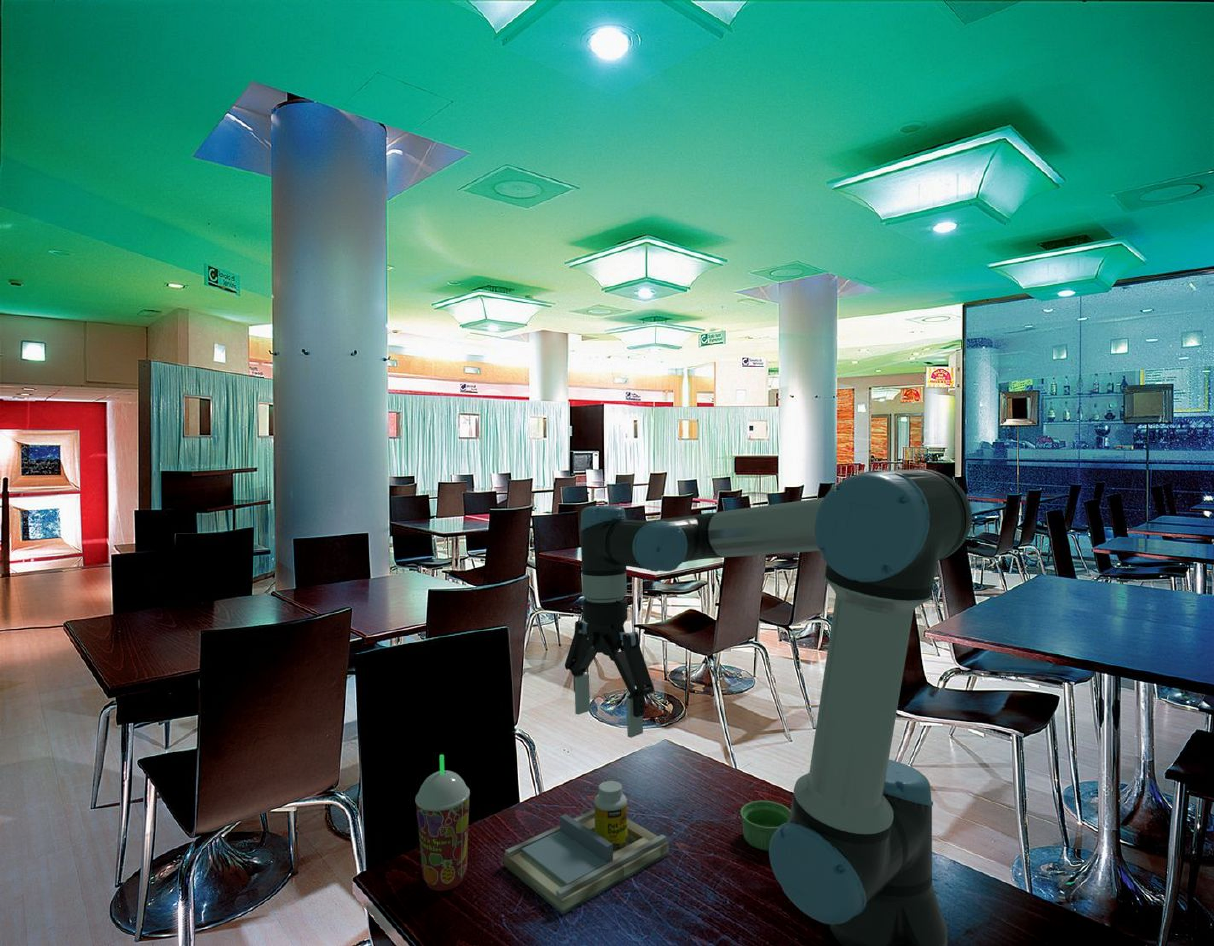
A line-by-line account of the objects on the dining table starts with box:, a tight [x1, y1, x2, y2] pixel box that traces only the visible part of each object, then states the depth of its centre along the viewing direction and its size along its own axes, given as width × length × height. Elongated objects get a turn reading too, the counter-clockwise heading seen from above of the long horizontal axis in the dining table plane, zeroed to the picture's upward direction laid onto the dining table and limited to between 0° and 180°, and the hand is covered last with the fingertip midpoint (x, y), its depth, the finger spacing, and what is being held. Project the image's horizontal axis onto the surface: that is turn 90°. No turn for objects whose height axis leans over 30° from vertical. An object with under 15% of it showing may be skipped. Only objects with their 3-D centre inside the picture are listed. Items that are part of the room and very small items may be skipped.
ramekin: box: [739, 800, 791, 852], centre depth 118 cm, size 9×9×4 cm
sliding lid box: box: [503, 809, 670, 915], centre depth 113 cm, size 22×16×3 cm
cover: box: [522, 813, 613, 886], centre depth 110 cm, size 9×12×3 cm
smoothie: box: [414, 754, 471, 892], centre depth 108 cm, size 8×8×20 cm
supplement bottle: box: [593, 780, 628, 853], centre depth 116 cm, size 6×6×10 cm
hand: (607, 723), depth 115 cm, fingers open, 13 cm apart
